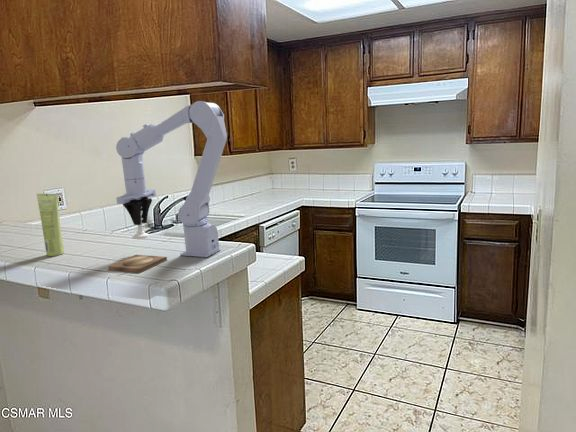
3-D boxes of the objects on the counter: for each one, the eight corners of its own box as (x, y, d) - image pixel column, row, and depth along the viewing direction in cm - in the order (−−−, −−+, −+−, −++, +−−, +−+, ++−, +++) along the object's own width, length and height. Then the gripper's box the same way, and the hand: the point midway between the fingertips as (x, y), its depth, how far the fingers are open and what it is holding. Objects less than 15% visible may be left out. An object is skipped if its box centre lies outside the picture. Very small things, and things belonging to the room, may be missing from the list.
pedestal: (167, 260, 125) (166, 256, 125) (140, 272, 115) (140, 268, 115) (136, 257, 130) (136, 253, 129) (108, 269, 120) (108, 265, 119)
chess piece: (145, 239, 130) (142, 206, 128) (129, 238, 131) (126, 205, 129) (151, 235, 135) (150, 203, 133) (136, 235, 136) (134, 203, 134)
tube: (66, 250, 142) (56, 191, 138) (66, 254, 138) (56, 193, 134) (46, 253, 140) (36, 193, 136) (46, 257, 135) (35, 195, 132)
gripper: (140, 175, 137) (145, 218, 140) (105, 182, 124) (112, 228, 127) (158, 175, 135) (163, 218, 137) (125, 182, 122) (131, 229, 124)
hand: (140, 223), depth 132 cm, fingers closed on chess piece, 2 cm apart
